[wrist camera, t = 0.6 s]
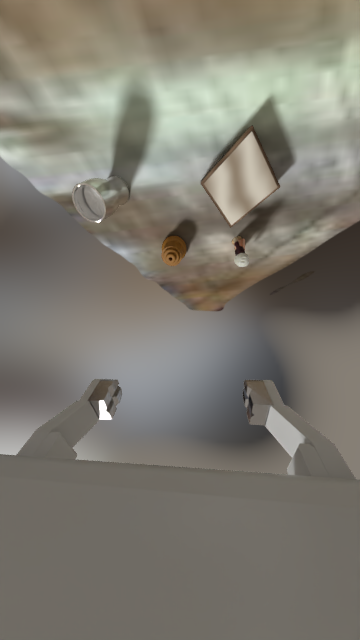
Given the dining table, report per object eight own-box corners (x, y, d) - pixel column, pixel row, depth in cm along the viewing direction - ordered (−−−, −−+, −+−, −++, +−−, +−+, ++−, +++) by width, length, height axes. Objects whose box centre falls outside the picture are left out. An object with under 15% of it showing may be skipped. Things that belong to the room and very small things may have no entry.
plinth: (248, 127, 34) (253, 125, 30) (274, 183, 39) (281, 187, 36) (201, 180, 40) (200, 183, 37) (229, 222, 46) (230, 228, 42)
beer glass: (127, 173, 41) (99, 181, 31) (133, 207, 46) (111, 224, 36) (100, 173, 42) (64, 181, 31) (109, 206, 47) (80, 223, 36)
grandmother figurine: (249, 248, 50) (258, 270, 41) (237, 256, 52) (243, 278, 43) (237, 226, 46) (244, 244, 37) (225, 235, 48) (228, 254, 39)
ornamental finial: (191, 247, 52) (176, 263, 56) (173, 228, 49) (158, 247, 53) (189, 258, 46) (172, 276, 51) (168, 239, 43) (152, 259, 48)
